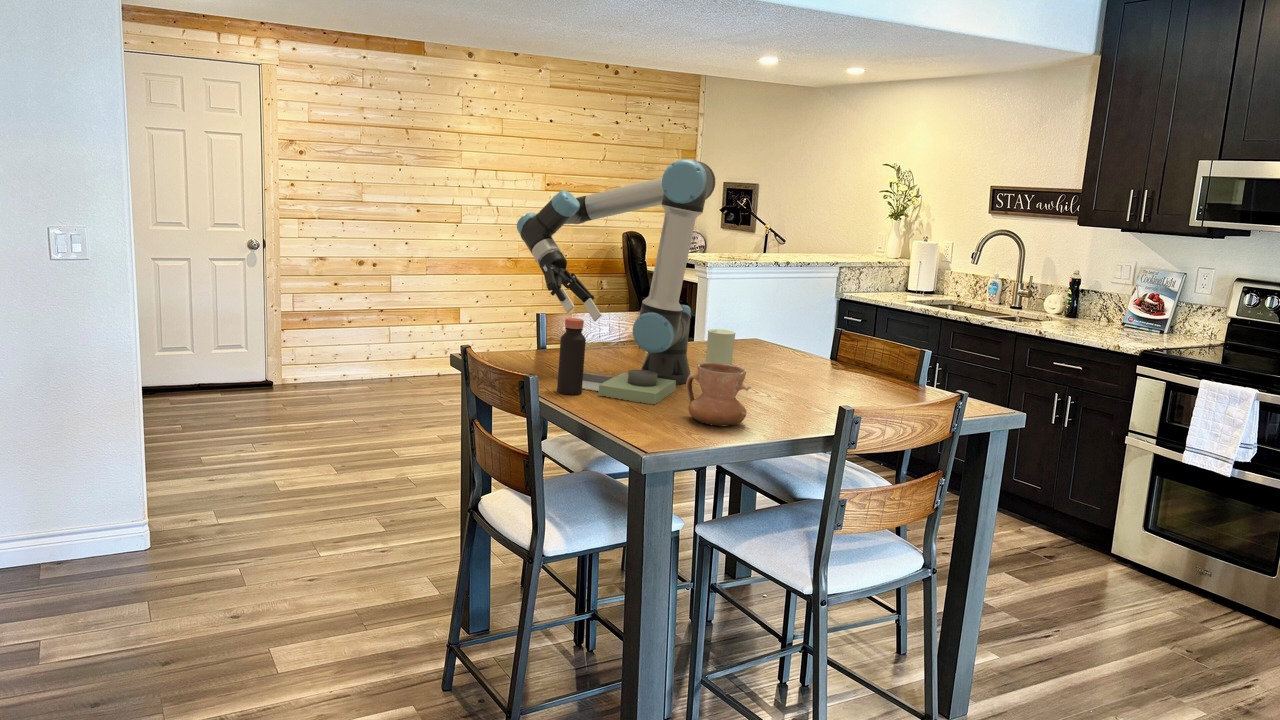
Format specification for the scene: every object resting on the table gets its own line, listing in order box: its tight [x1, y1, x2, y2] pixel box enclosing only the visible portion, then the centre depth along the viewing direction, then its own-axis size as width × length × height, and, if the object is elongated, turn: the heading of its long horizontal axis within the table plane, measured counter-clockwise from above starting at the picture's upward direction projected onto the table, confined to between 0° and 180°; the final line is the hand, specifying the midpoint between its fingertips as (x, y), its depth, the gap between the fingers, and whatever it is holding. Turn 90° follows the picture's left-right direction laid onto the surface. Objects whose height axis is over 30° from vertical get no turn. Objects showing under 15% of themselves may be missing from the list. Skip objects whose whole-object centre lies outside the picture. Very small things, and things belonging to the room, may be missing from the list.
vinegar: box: [556, 317, 587, 396], centre depth 248 cm, size 7×7×20 cm
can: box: [704, 328, 736, 366], centre depth 306 cm, size 9×9×12 cm
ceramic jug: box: [685, 362, 752, 426], centre depth 231 cm, size 18×14×14 cm
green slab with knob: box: [582, 369, 677, 405], centre depth 257 cm, size 20×28×6 cm
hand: (584, 314), depth 257 cm, fingers open, 13 cm apart
